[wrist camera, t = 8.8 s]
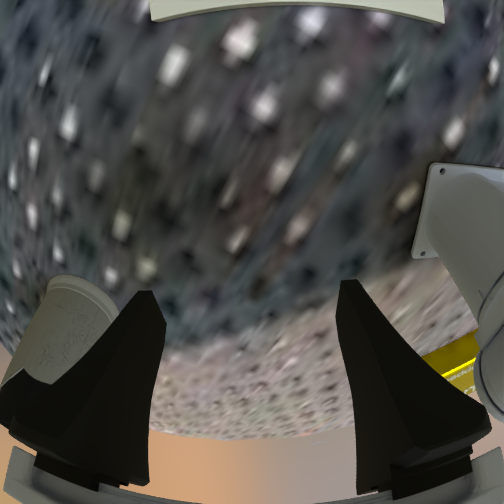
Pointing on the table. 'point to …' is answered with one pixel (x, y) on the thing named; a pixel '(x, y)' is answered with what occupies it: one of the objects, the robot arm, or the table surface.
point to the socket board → (399, 3)
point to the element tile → (456, 362)
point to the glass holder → (55, 339)
